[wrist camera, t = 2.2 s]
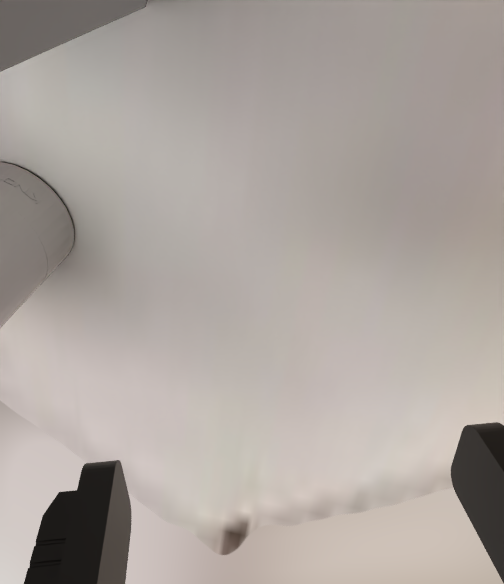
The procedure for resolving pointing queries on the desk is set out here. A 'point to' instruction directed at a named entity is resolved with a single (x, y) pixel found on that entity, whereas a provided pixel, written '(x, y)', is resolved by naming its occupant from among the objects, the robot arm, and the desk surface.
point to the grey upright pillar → (52, 24)
